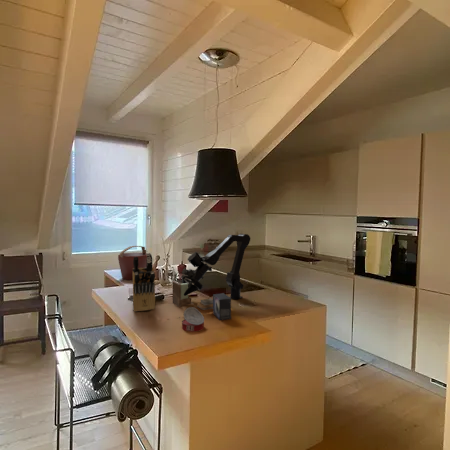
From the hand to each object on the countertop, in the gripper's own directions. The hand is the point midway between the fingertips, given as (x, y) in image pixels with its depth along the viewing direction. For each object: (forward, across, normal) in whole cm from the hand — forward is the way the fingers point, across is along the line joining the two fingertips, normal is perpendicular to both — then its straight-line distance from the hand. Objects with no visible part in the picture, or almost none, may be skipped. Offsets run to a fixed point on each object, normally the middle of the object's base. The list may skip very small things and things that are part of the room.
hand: (181, 293), depth 184 cm
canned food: (+11, +35, -1) cm, 36 cm away
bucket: (+7, -86, +2) cm, 87 cm away
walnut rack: (+4, 0, +6) cm, 7 cm away
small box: (-2, +27, +12) cm, 30 cm away
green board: (+3, 0, +5) cm, 6 cm away
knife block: (+18, -7, -9) cm, 22 cm away
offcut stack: (-2, +12, +11) cm, 17 cm away
